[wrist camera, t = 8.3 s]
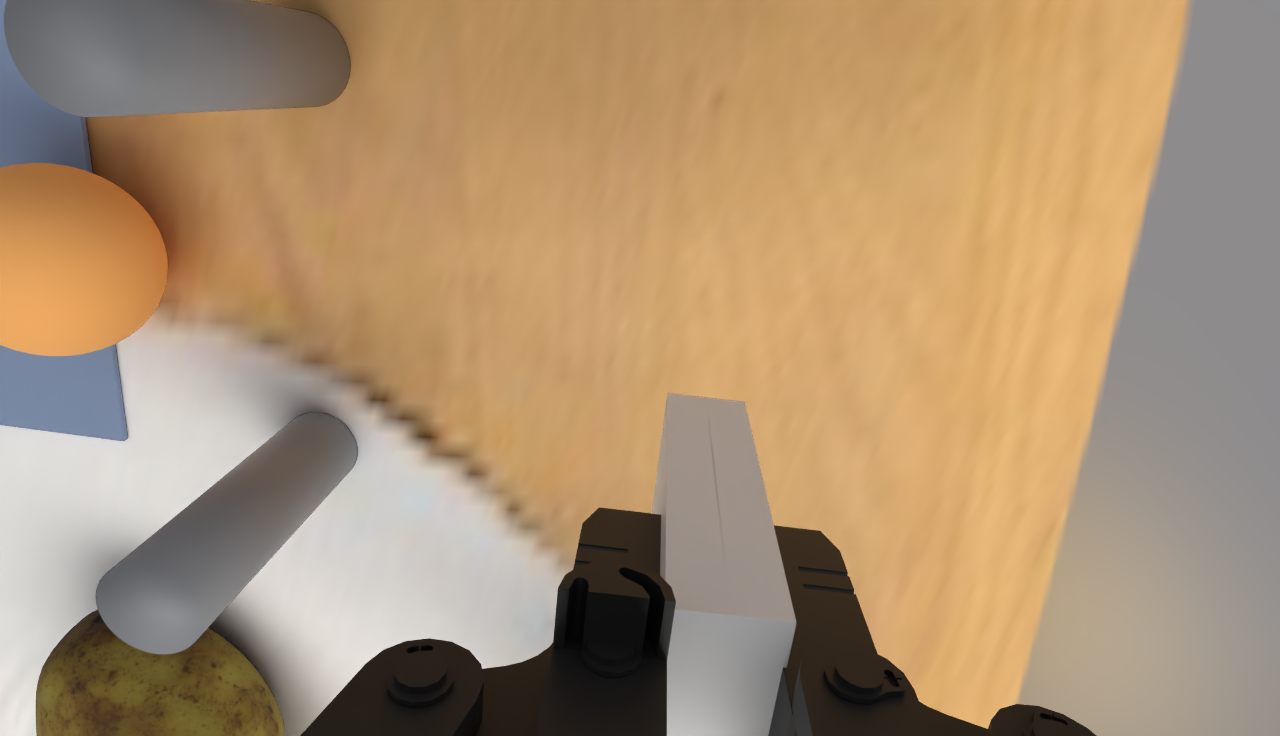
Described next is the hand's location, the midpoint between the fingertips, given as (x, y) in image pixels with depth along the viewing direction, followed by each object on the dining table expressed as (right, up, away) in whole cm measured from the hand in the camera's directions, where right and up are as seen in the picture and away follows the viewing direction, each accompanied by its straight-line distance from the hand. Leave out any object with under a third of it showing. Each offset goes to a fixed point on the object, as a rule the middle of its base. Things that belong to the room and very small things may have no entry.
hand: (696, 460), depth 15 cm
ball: (-18, +5, +7) cm, 20 cm away
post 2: (-12, -1, +12) cm, 17 cm away
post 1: (-11, +11, +7) cm, 17 cm away
